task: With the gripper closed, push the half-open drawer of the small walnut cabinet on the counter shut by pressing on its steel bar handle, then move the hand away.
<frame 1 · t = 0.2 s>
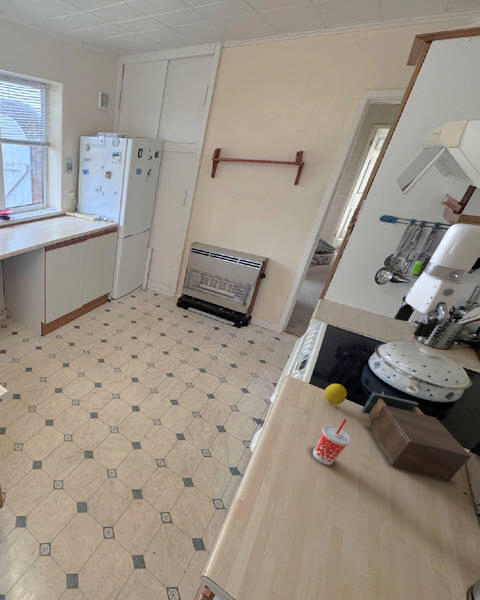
hand: (410, 327, 92), 32 cm above the counter, tool pointing down, fingers open, 9 cm apart
drawer: (395, 415, 97), point 5 cm above the counter, slide at 6.0 cm
cabinet: (405, 452, 91), on the counter
lemon: (329, 403, 108), on the counter
beverage cup: (322, 457, 88), on the counter
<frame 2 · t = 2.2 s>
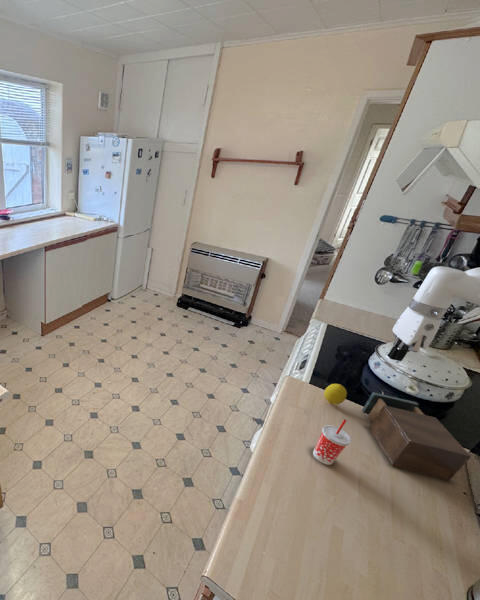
hand: (394, 358, 102), 18 cm above the counter, tool pointing down, fingers closed
nothing on the counter moved.
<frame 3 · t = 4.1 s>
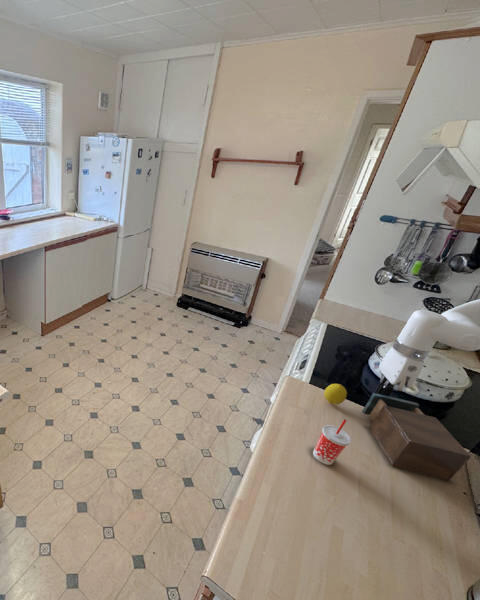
hand: (380, 395, 105), 5 cm above the counter, tool pointing down, fingers closed
drawer: (395, 416, 97), point 5 cm above the counter, slide at 5.6 cm, touching gripper
everything else where it was.
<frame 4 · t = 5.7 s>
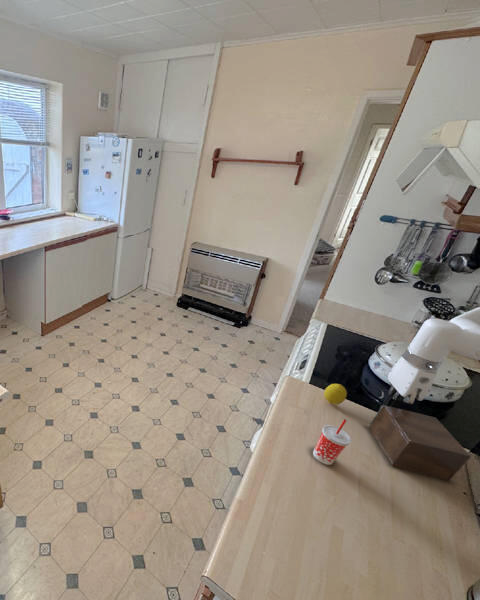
hand: (389, 407, 100), 5 cm above the counter, tool pointing down, fingers closed
drawer: (406, 430, 92), point 5 cm above the counter, slide at 0.0 cm, touching cabinet, gripper
everything else where it was.
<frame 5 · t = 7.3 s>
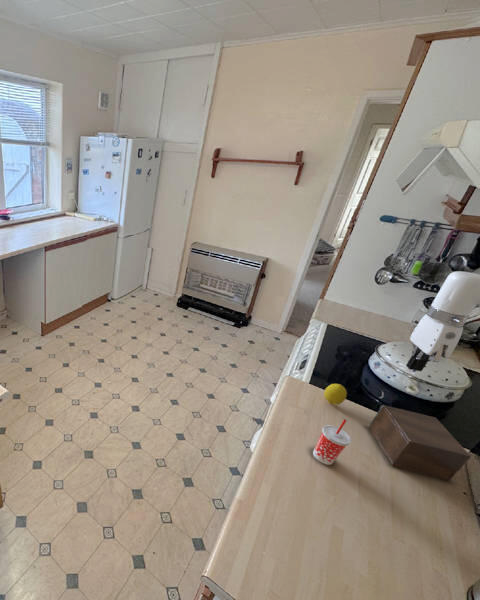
hand: (413, 368, 97), 18 cm above the counter, tool pointing down, fingers closed
drawer: (406, 430, 92), point 5 cm above the counter, slide at 0.0 cm, touching cabinet
everything else where it was.
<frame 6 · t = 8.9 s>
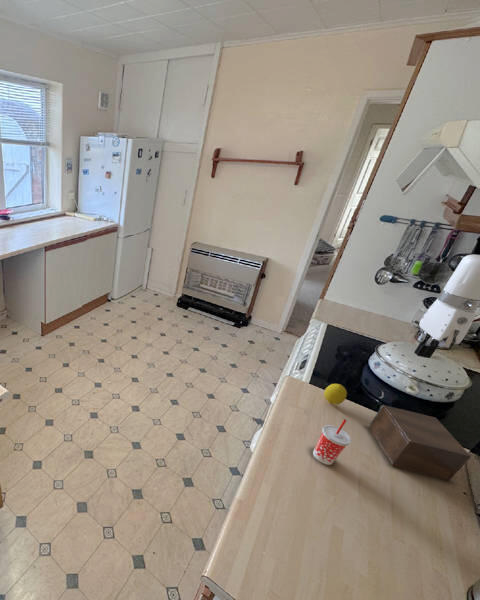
hand: (421, 355, 95), 23 cm above the counter, tool pointing down, fingers closed
nothing on the counter moved.
at the end: drawer slide at 0.0 cm; lemon moved 0.2 cm from its start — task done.
